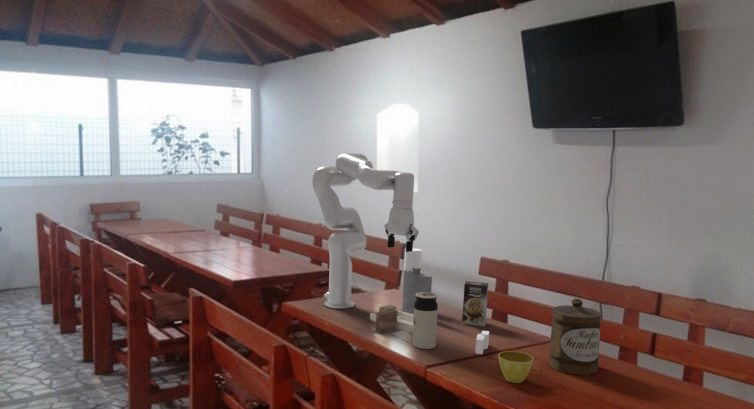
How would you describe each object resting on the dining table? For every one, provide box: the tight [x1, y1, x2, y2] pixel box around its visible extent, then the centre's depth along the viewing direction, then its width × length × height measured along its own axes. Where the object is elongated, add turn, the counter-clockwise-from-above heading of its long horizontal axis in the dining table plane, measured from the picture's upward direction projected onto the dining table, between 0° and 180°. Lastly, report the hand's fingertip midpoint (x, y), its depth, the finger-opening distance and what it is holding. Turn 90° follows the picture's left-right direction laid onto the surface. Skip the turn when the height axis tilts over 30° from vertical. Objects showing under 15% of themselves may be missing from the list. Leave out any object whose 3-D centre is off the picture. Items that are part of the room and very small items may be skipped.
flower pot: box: [498, 350, 534, 384], centre depth 184 cm, size 10×10×7 cm
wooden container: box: [548, 298, 602, 376], centre depth 197 cm, size 15×15×22 cm
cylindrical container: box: [403, 247, 423, 274], centre depth 265 cm, size 7×7×25 cm
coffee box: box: [461, 280, 489, 327], centre depth 244 cm, size 9×6×16 cm
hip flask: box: [401, 267, 433, 315], centre depth 252 cm, size 16×4×20 cm, turn 36°
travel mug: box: [412, 292, 439, 350], centre depth 212 cm, size 8×8×18 cm
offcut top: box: [378, 304, 397, 312], centre depth 244 cm, size 4×6×2 cm, turn 136°
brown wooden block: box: [375, 309, 397, 333], centre depth 228 cm, size 3×8×7 cm, turn 136°
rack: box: [369, 309, 414, 334], centre depth 239 cm, size 22×12×3 cm, turn 46°
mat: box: [371, 328, 402, 336], centre depth 229 cm, size 6×10×1 cm, turn 136°
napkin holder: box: [474, 330, 490, 355], centre depth 212 cm, size 15×11×6 cm
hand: (399, 249), depth 239 cm, fingers open, 9 cm apart
